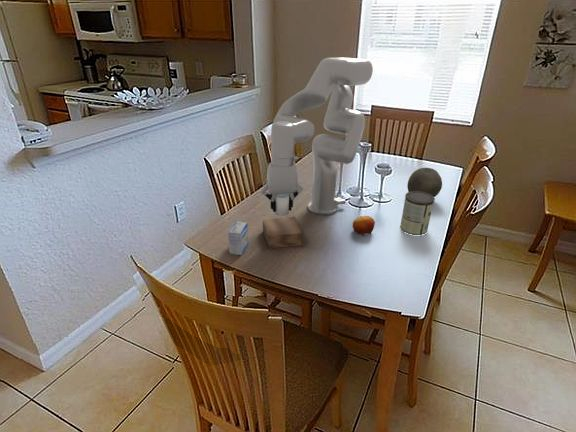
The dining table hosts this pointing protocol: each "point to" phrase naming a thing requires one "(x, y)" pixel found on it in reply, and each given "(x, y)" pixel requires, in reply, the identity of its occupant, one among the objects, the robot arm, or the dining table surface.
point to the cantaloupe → (425, 181)
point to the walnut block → (282, 232)
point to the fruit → (363, 225)
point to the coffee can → (416, 212)
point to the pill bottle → (282, 204)
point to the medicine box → (238, 238)
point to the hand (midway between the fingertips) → (281, 209)
